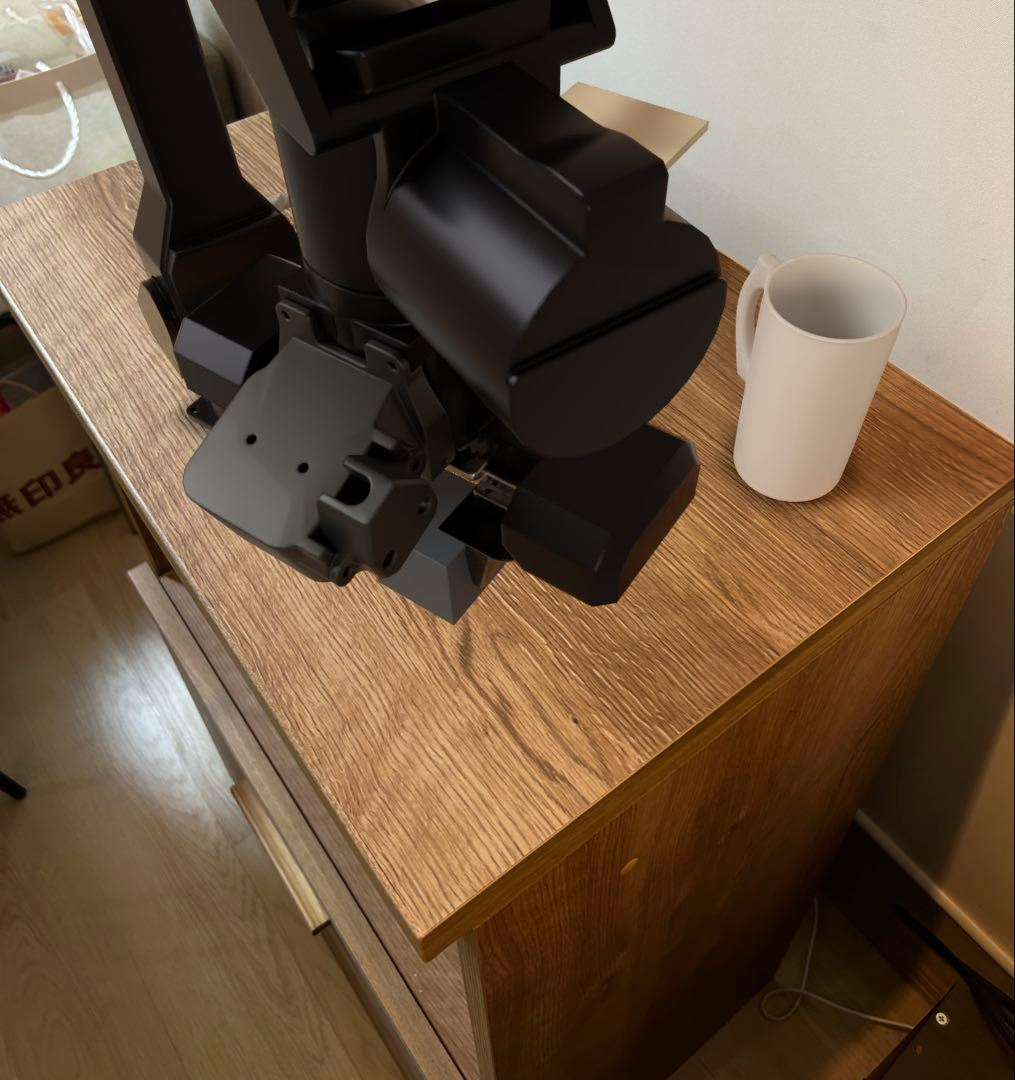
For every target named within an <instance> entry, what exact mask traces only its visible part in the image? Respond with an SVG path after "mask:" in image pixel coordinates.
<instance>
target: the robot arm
mask: <svg viewBox="0 0 1015 1080" xmlns="http://www.w3.org/2000/svg"><path fill="white" fill-rule="evenodd" d="M209 1H210V3H211V5H212V6H213V8H214V10H215V12H216V15H218V18H219V20H220V21H221V24H222V25H223V27H224V29H225V30H226V32H227V34H228V36H229V39H230V40H231V42H232V43H233V46H234V47H235V49H236V51H237V53H238V55H239V57H240V59H241V60H242V62H243V64H244V66H245V68H246V69H247V71H248V74H249V75H250V77H251V79H252V81H253V83H254V84H255V86H256V88H257V90H258V92H259V94H260V96H261V98H262V99H263V101H264V103H265V105H266V107H267V110H268V114H269V118H270V123H271V126H272V132H273V134H274V135H273V136H274V140H275V145H276V148H277V153H278V157H279V162H280V166H281V171H282V175H283V179H284V180H283V181H284V183H285V187H286V192H287V193H286V194H288V197H289V202H290V206H291V208H290V209H291V214H292V219H293V223H294V226H293V224H291V222H290V221H289V218H287V216H286V215H285V214H284V213H283V212H280V211H279V210H278V209H277V208H276V207H275V206H274V205H273V204H272V203H271V202H269V201H268V200H267V199H266V197H265V196H264V194H262V193H261V192H260V191H259V190H258V189H256V188H255V187H254V186H253V185H252V184H251V183H250V182H249V181H248V180H247V179H246V178H245V177H244V176H243V174H242V171H241V169H240V166H239V163H238V159H237V156H236V153H235V150H234V147H233V144H232V140H231V137H230V134H229V129H228V127H227V124H226V120H225V117H224V114H223V111H222V107H221V104H220V101H219V98H218V95H217V91H216V88H215V85H214V81H213V78H212V75H211V72H210V69H209V66H208V62H207V58H206V56H205V52H204V49H203V46H202V43H201V39H200V37H199V36H200V35H199V33H198V30H197V26H196V23H195V20H194V17H193V14H192V10H191V7H190V3H189V1H188V0H75V2H76V6H77V8H78V11H79V13H80V16H81V18H82V20H83V23H84V27H85V29H86V32H87V34H88V36H89V39H90V42H91V44H92V47H93V49H94V52H95V55H96V57H97V60H98V63H99V64H100V67H101V70H102V73H103V75H104V77H105V81H106V82H107V86H108V89H109V91H110V93H111V96H112V99H113V101H114V104H115V106H116V109H117V112H118V115H119V117H120V119H121V122H122V125H123V127H124V130H125V133H126V135H127V138H128V140H129V143H130V145H131V149H132V151H133V153H134V156H135V158H136V161H137V164H138V166H139V169H140V171H141V174H142V178H143V185H142V190H141V194H140V198H139V203H138V207H137V213H136V217H135V221H134V225H133V229H132V239H133V241H134V244H135V247H136V250H137V253H138V255H139V258H140V260H141V263H142V266H143V269H144V272H145V274H146V276H147V279H145V280H142V281H139V284H138V291H137V292H138V293H137V300H136V301H137V305H138V308H139V309H140V312H141V314H142V317H143V318H144V320H145V323H146V324H147V326H148V327H147V328H148V329H149V331H150V333H151V335H152V337H153V338H154V340H155V341H156V344H157V345H158V346H159V348H160V349H161V350H162V353H164V355H165V356H166V358H167V359H168V361H169V362H170V364H171V365H172V367H173V369H174V370H175V372H176V373H177V374H178V376H179V377H180V379H181V380H183V381H184V383H185V386H186V388H187V390H188V391H191V392H192V393H194V394H195V395H198V396H199V397H198V398H197V399H196V400H194V401H193V402H192V403H191V404H190V405H188V406H187V408H186V410H185V412H186V415H187V418H188V419H189V420H191V421H192V422H194V423H196V424H198V425H200V426H202V427H204V428H205V429H208V430H209V431H208V433H207V434H206V436H205V437H204V438H203V440H202V442H201V443H200V445H199V446H198V447H197V449H195V451H194V452H193V454H192V456H191V457H190V458H189V460H188V461H187V463H186V465H185V468H184V469H183V473H182V486H183V491H184V494H185V495H186V497H187V498H188V499H189V500H190V501H192V502H193V503H194V504H195V505H197V506H198V507H199V508H201V509H202V510H203V511H205V512H206V513H207V514H209V515H210V516H212V518H214V519H216V520H217V521H218V522H220V523H221V524H222V525H224V526H225V527H227V528H228V529H229V530H231V531H232V532H233V533H234V534H236V535H237V536H239V537H240V538H241V539H243V541H246V542H248V543H249V544H251V545H253V546H255V547H257V548H258V549H259V550H262V551H263V552H264V553H267V554H268V555H269V556H272V557H273V558H275V559H276V560H278V561H279V562H281V563H283V564H284V565H286V566H288V567H290V568H291V569H293V570H295V571H296V572H298V573H299V574H301V575H302V576H304V577H305V578H307V579H308V580H311V581H314V582H316V583H322V584H323V583H324V584H325V583H332V584H334V585H335V586H337V587H339V588H344V587H346V586H348V584H349V583H351V581H352V580H353V579H354V578H355V576H356V575H358V573H361V572H364V571H365V572H369V573H370V574H372V575H374V576H376V578H377V577H379V578H381V579H386V578H388V577H391V576H392V575H394V574H395V573H397V572H398V571H399V570H400V569H401V567H402V566H403V564H404V563H405V561H406V560H407V558H408V556H409V555H410V553H411V552H412V550H413V549H414V547H415V546H416V544H417V543H418V541H419V540H420V538H421V536H422V535H423V533H424V532H425V530H426V529H427V527H428V526H429V524H430V523H431V521H432V519H433V518H434V516H435V513H436V509H437V504H438V499H437V495H436V493H435V492H434V491H433V489H432V488H431V486H430V485H429V484H428V482H427V481H429V482H433V481H434V480H435V479H436V478H437V476H438V475H439V474H440V473H441V472H442V471H443V470H444V469H446V470H448V471H450V472H452V473H454V474H456V475H458V476H460V477H462V478H464V479H466V480H468V481H470V482H475V481H476V482H477V481H479V482H478V483H475V484H476V485H475V486H474V488H473V490H472V491H471V492H470V493H469V494H468V495H467V496H466V497H465V498H464V499H463V501H462V502H461V503H460V504H459V505H458V506H457V507H456V508H455V509H454V510H453V512H452V513H451V514H450V515H449V516H448V517H447V518H446V519H445V520H444V521H443V522H442V524H441V525H440V526H439V527H438V530H439V531H441V532H443V533H445V534H447V535H448V536H450V537H452V538H454V539H456V540H458V541H459V542H461V543H463V544H465V551H466V558H467V565H468V570H469V572H470V575H471V578H472V581H473V584H474V585H476V586H477V587H479V588H483V587H484V586H485V585H486V584H487V582H488V581H489V580H490V579H491V578H492V576H493V575H494V574H495V573H496V571H497V569H498V568H499V566H500V564H501V563H506V564H508V563H509V564H510V563H514V562H515V563H517V565H518V566H519V567H520V568H521V570H522V571H524V572H525V573H528V574H530V575H532V576H533V577H535V578H537V579H539V580H540V581H542V582H544V583H547V584H548V585H550V586H552V587H554V588H555V589H557V590H558V591H559V590H560V591H561V592H563V593H565V594H567V595H568V596H570V597H572V598H574V599H576V600H578V601H579V602H582V603H583V604H586V605H587V606H589V607H591V608H596V607H602V606H607V605H612V604H617V603H618V602H619V601H620V600H621V598H622V597H623V596H624V594H625V593H626V592H627V590H628V589H629V587H630V586H631V585H632V583H633V582H634V581H635V579H636V578H637V576H639V574H640V573H641V571H642V570H643V568H644V567H645V565H646V564H647V563H648V561H649V560H650V559H651V558H652V556H653V555H654V554H655V552H656V551H657V549H658V548H659V547H660V545H661V543H662V542H663V541H664V540H665V538H666V537H667V536H668V534H669V533H670V532H671V530H672V529H673V528H674V526H676V523H677V522H678V521H679V520H680V518H681V517H682V515H683V514H684V512H685V511H686V510H687V508H688V507H689V506H690V504H691V503H692V502H693V500H694V499H695V496H696V492H697V487H698V483H699V476H700V472H701V467H702V466H701V465H702V464H701V461H700V458H699V453H698V451H697V447H696V444H695V442H694V441H691V440H690V439H687V438H685V437H683V436H681V435H678V434H676V433H674V432H671V431H670V430H667V429H665V428H664V427H663V428H662V427H660V426H658V425H656V424H653V423H651V420H652V419H653V418H655V417H656V416H657V415H658V414H659V413H660V412H662V411H663V409H664V408H666V407H667V406H668V404H669V403H671V401H672V400H673V399H674V398H675V397H676V396H677V395H678V393H679V392H680V391H681V390H682V388H683V387H684V386H686V384H687V383H688V382H689V381H690V379H691V377H692V376H693V374H694V373H695V371H696V370H697V368H698V366H700V364H701V362H702V361H703V360H704V358H705V357H706V354H707V353H708V350H709V348H710V346H711V344H712V342H713V340H714V339H715V336H716V334H717V332H718V330H719V327H720V323H721V320H722V317H723V313H724V310H725V307H726V302H727V297H728V296H727V295H728V289H729V284H728V281H727V280H726V279H725V278H724V277H723V273H722V268H721V262H720V255H719V253H718V251H717V249H716V247H715V246H714V244H713V242H712V241H711V238H710V237H709V236H708V235H707V234H705V233H704V232H703V231H702V230H700V229H699V228H697V226H695V225H693V224H692V223H691V222H690V221H688V220H686V218H684V217H683V216H681V215H680V214H679V213H678V212H677V211H675V210H673V209H672V208H671V207H669V206H668V205H667V194H668V189H669V188H668V187H669V178H670V173H669V170H667V168H666V165H665V163H664V161H663V160H662V159H661V158H660V157H658V156H657V155H655V154H654V153H652V152H651V151H650V150H648V149H647V148H645V147H644V146H643V145H641V144H640V143H638V142H637V141H636V140H634V139H633V138H631V137H629V136H628V135H626V134H624V133H622V132H619V131H616V130H612V129H609V128H606V127H603V126H602V125H600V124H598V123H597V122H595V121H593V120H592V119H591V118H589V117H588V116H587V115H585V114H584V113H582V112H581V111H580V110H578V109H577V108H575V107H574V106H573V105H571V104H570V103H569V102H567V101H566V100H564V99H563V98H562V97H560V96H561V74H562V73H561V72H562V71H561V69H562V67H563V66H565V65H568V64H571V63H573V62H576V61H579V60H581V59H582V60H583V59H584V58H587V57H589V56H593V55H595V54H598V53H600V52H601V53H602V52H604V51H606V50H609V49H611V48H612V47H613V46H615V43H616V38H617V28H616V24H615V21H614V17H613V14H612V10H611V7H610V4H609V0H434V1H431V2H428V1H426V0H209ZM295 230H296V231H295ZM420 477H422V478H424V479H426V480H427V481H425V480H424V479H422V478H420Z"/></svg>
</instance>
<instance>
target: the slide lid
mask: <svg viewBox="0 0 1015 1080" xmlns="http://www.w3.org/2000/svg"><path fill="white" fill-rule="evenodd" d="M560 97H562V98H563V99H564V100H566V101H567V102H569V103H570V104H571V105H573V106H574V107H575V108H577V109H578V110H580V111H581V112H582V113H584V114H585V115H587V116H588V117H589V118H591V119H592V120H593V121H595V122H597V123H598V124H600V125H602V126H603V127H606V128H609V129H612V130H616V131H619V132H622V133H624V134H626V135H628V136H629V137H631V138H633V139H634V140H636V141H637V142H638V143H640V144H641V145H643V146H644V147H645V148H647V149H648V150H650V151H651V152H652V153H654V154H655V155H657V156H658V157H660V158H661V159H662V160H663V161H664V163H665V165H666V168H667V171H669V169H670V168H672V167H673V165H675V164H676V163H677V162H678V161H679V160H680V159H681V158H682V157H683V156H684V154H686V153H687V152H688V151H689V150H690V149H691V148H692V147H693V146H694V145H695V144H696V143H697V142H698V141H699V140H700V139H701V138H702V137H703V135H705V133H707V132H708V130H709V126H710V125H709V124H710V121H709V120H708V119H707V120H706V119H703V118H699V117H698V116H694V115H690V114H687V113H684V112H681V111H677V110H673V109H672V108H671V109H670V108H667V107H665V106H664V107H663V106H661V105H657V104H655V103H650V102H648V101H644V100H642V99H639V98H634V97H631V96H629V95H628V96H627V95H625V94H621V93H618V92H614V91H611V90H607V89H604V88H601V87H598V86H595V85H591V84H588V83H584V82H582V81H576V82H575V83H574V84H573V85H571V86H570V87H569V88H568V89H566V90H565V91H564V92H563V93H561V94H560Z"/></svg>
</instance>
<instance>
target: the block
mask: <svg viewBox="0 0 1015 1080" xmlns="http://www.w3.org/2000/svg"><path fill="white" fill-rule="evenodd" d="M420 478H422V477H420ZM422 479H424V478H422ZM424 480H425V481H427V480H426V479H424ZM427 482H428V484H429V485H430V486H431V488H432V489H433V491H434V492H435V493H436V495H437V499H438V504H437V509H436V513H435V516H434V518H433V519H432V521H431V523H430V524H429V526H428V527H427V529H426V530H425V532H424V533H423V535H422V536H421V538H420V540H419V541H418V543H417V544H416V546H415V547H414V549H413V550H412V552H411V553H410V555H409V556H408V558H407V560H406V561H405V563H404V564H403V566H402V567H401V569H400V570H399V571H398V572H397V573H395V574H394V575H392V576H391V577H388V578H386V579H381V578H379V577H377V576H376V579H377V582H378V583H379V584H381V585H383V586H385V587H387V588H388V589H389V590H392V591H393V592H395V593H396V594H398V595H400V596H402V597H404V598H405V599H407V600H409V601H411V602H412V603H414V604H416V605H418V606H419V607H421V608H423V609H424V610H426V611H428V612H430V613H431V614H433V615H434V616H437V617H438V618H440V619H441V620H443V621H445V622H447V623H449V624H450V625H452V626H455V625H456V624H457V623H458V622H459V620H460V619H461V618H462V617H463V616H464V615H465V614H466V612H467V611H468V610H469V609H470V608H471V606H472V605H473V604H474V603H475V602H476V600H477V599H478V598H479V597H480V595H481V594H482V593H483V592H484V591H485V590H486V588H487V587H488V586H489V585H490V584H491V582H493V580H494V579H495V577H496V576H497V575H498V574H499V573H500V572H501V570H503V568H504V567H505V565H507V563H501V564H500V566H499V568H498V569H497V571H496V573H495V574H494V575H493V576H492V578H491V579H490V580H489V581H488V582H487V584H486V585H485V586H484V587H483V588H479V587H477V586H476V585H474V584H473V581H472V578H471V575H470V572H469V570H468V565H467V558H466V551H465V544H463V543H461V542H459V541H458V540H456V539H454V538H452V537H450V536H448V535H447V534H445V533H443V532H441V531H439V530H438V527H439V526H440V525H441V524H442V522H443V521H444V520H445V519H446V518H447V517H448V516H449V515H450V514H451V513H452V512H453V510H454V509H455V508H456V507H457V506H458V505H459V504H460V503H461V502H462V501H463V499H464V498H465V497H466V496H467V495H468V494H469V493H470V492H471V491H472V490H473V488H474V486H475V485H476V484H477V483H474V482H473V481H471V480H468V479H466V478H464V477H462V476H460V475H458V474H456V473H454V472H452V471H450V470H448V469H446V468H445V469H444V470H443V471H442V472H441V473H440V474H439V475H438V476H437V478H436V479H435V480H434V481H433V482H429V481H427Z"/></svg>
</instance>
